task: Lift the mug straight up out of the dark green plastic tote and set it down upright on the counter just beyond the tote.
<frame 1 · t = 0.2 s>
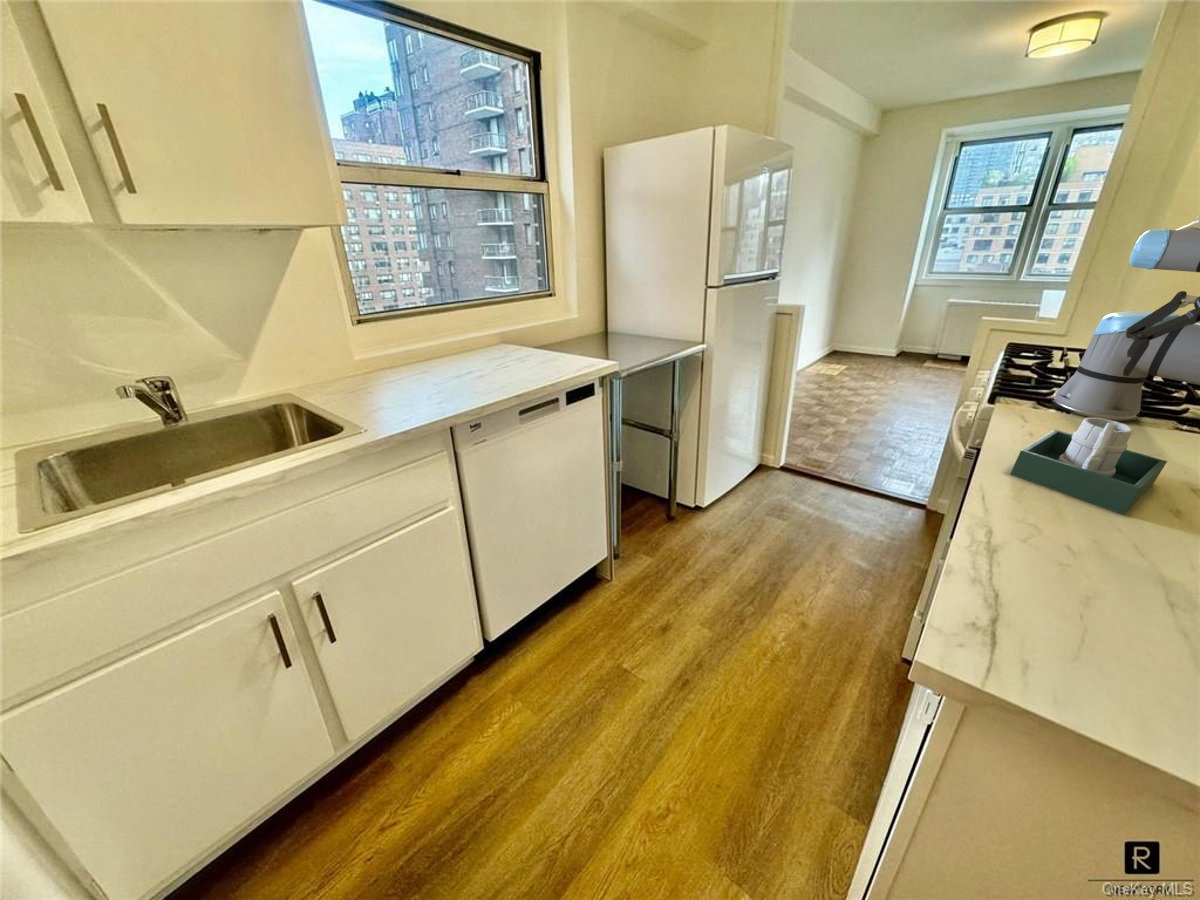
hand: (1177, 383, 86), 16 cm above the worktop, tool tilted 35°, fingers open, 13 cm apart
tote: (1079, 479, 87), on the worktop
mug: (1080, 478, 87), resting on tote
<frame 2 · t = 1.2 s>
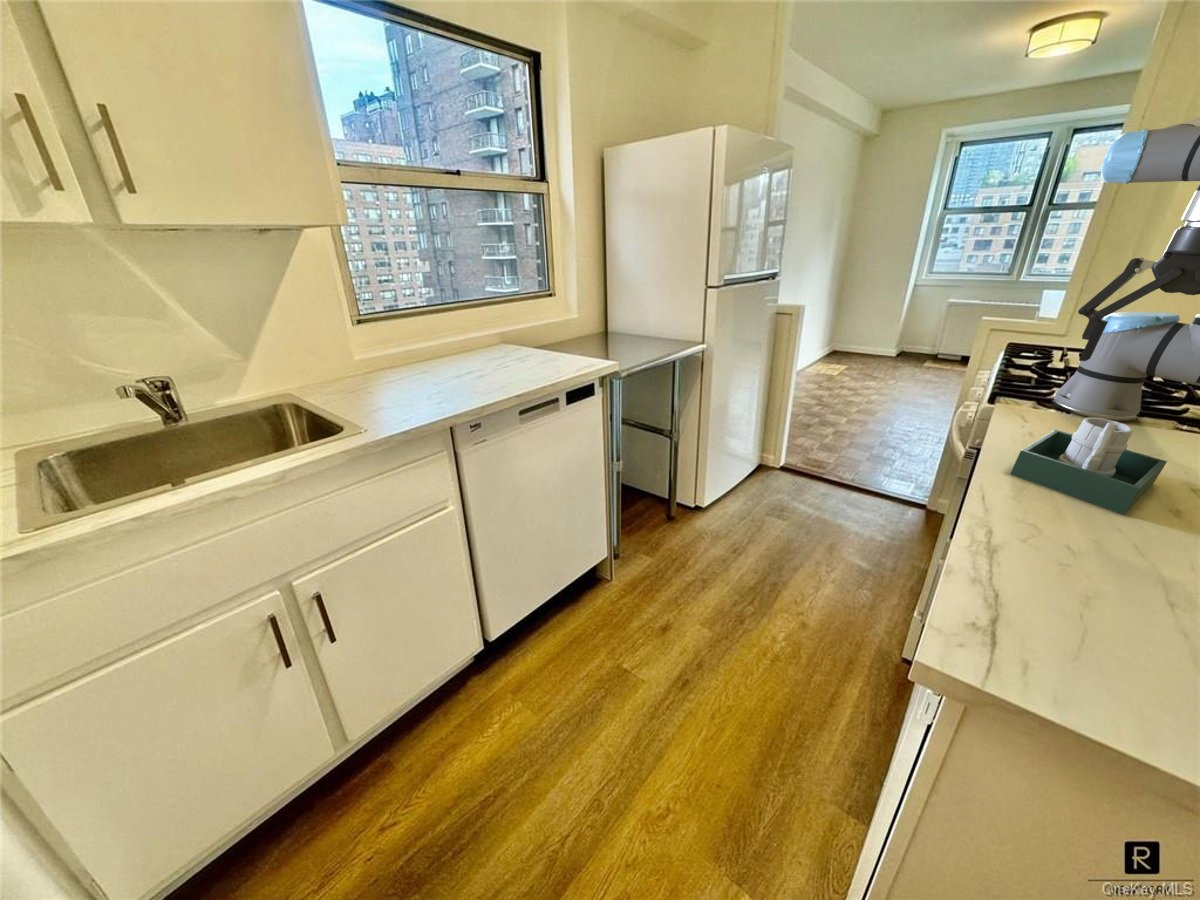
hand: (1138, 370, 78), 21 cm above the worktop, tool pointing down, fingers open, 13 cm apart
nothing on the worktop moved.
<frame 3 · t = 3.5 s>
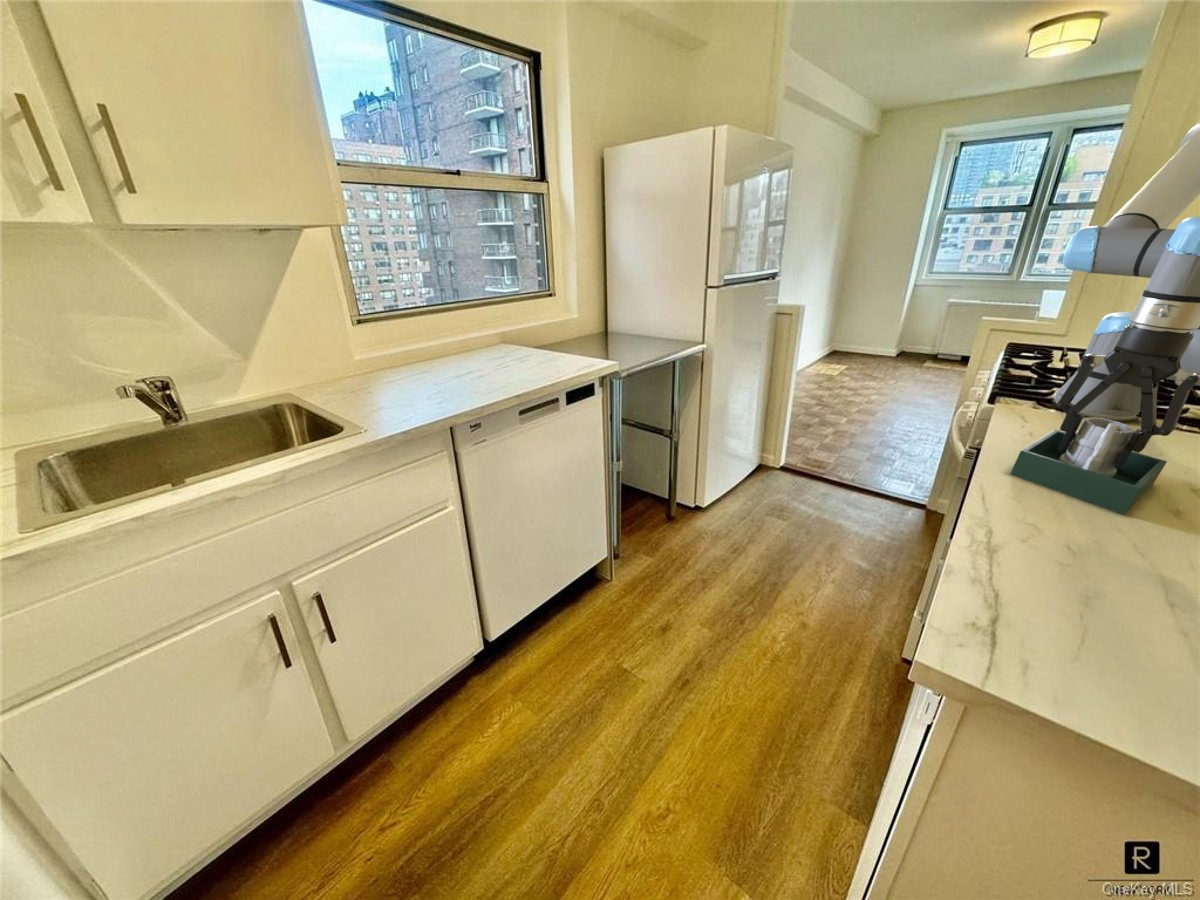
hand: (1089, 456, 85), 5 cm above the worktop, tool pointing down, fingers closed on mug, 7 cm apart
mug: (1081, 478, 87), resting on tote, touching gripper
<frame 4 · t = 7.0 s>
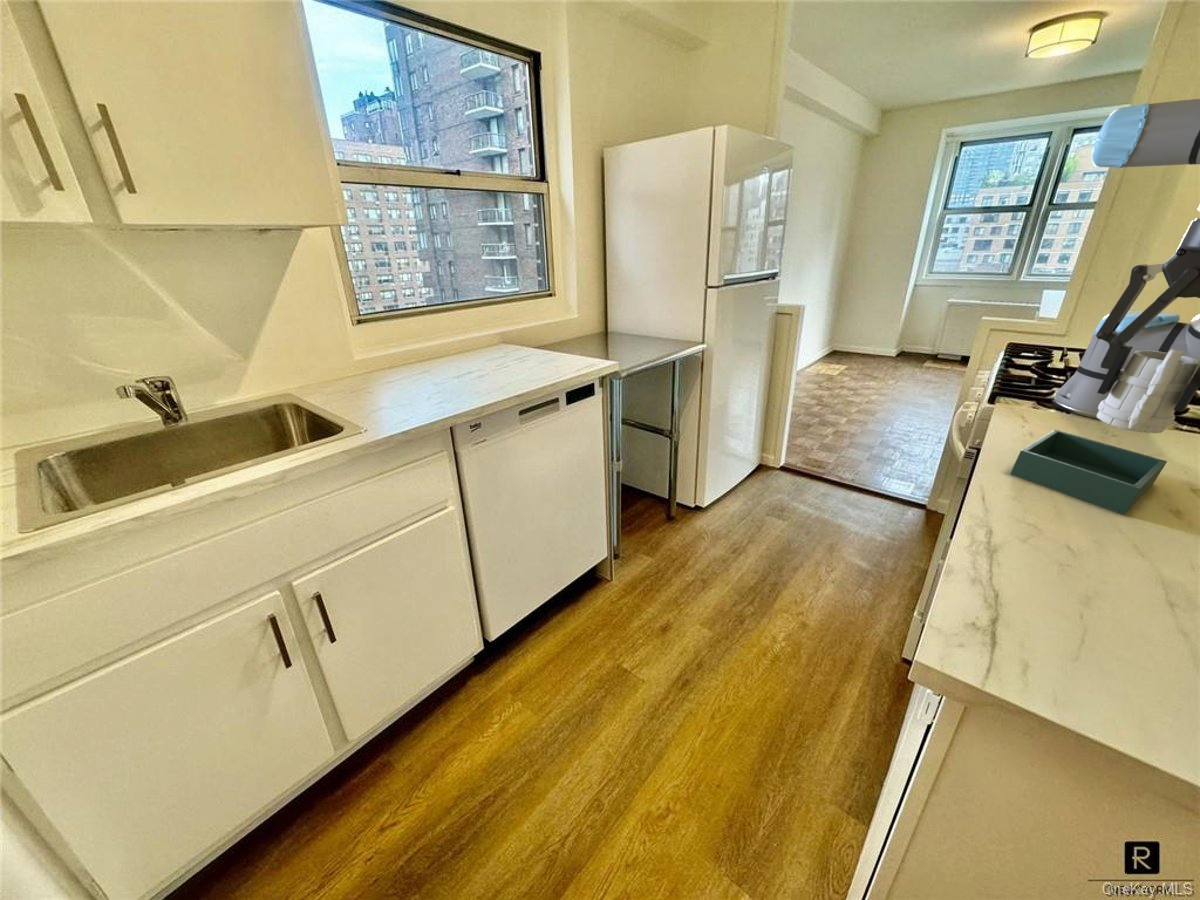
hand: (1140, 399, 67), 20 cm above the worktop, tool pointing down, fingers closed on mug, 7 cm apart
mug: (1128, 428, 68), point 16 cm above the worktop, touching gripper
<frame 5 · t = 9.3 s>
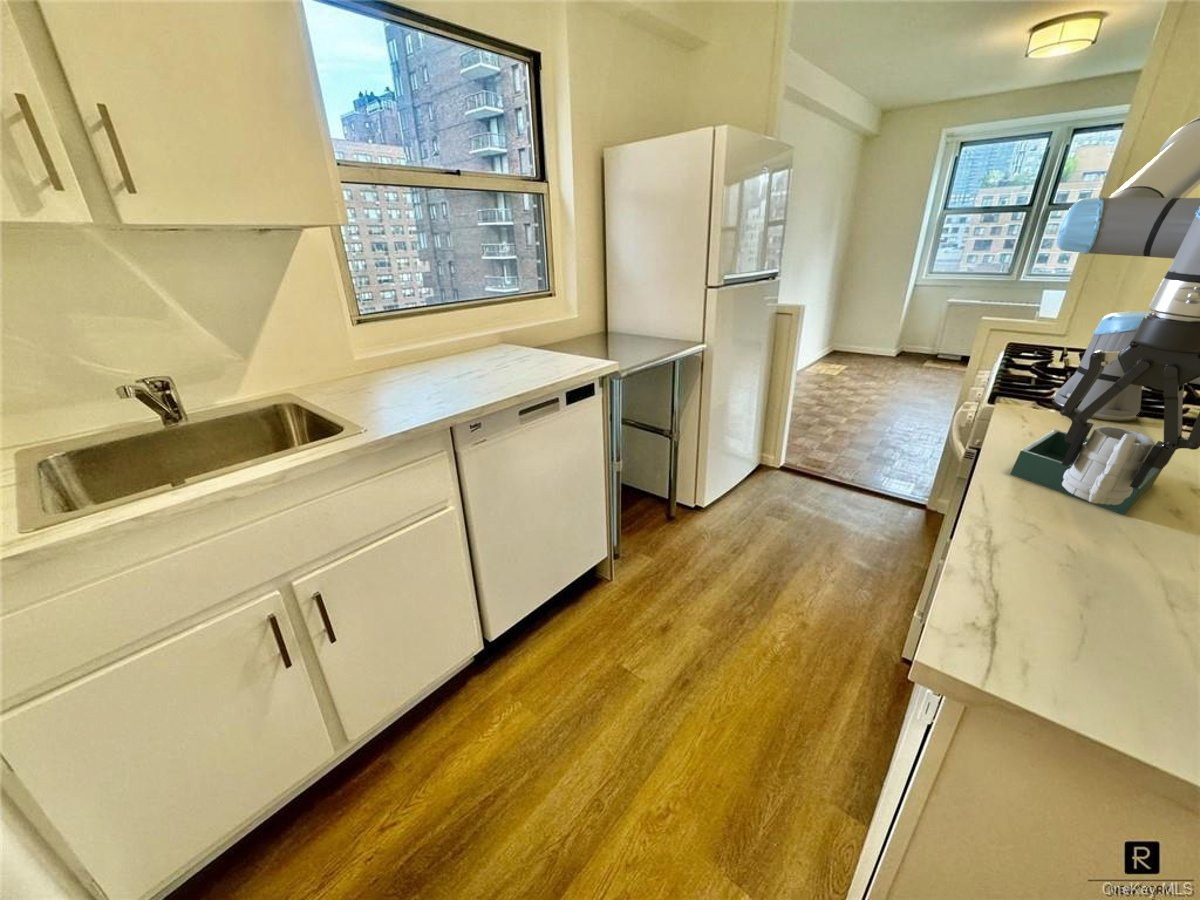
hand: (1100, 473, 71), 9 cm above the worktop, tool pointing down, fingers closed on mug, 7 cm apart
mug: (1090, 498, 73), point 5 cm above the worktop, touching gripper
when the fingers open (4 cm above the worktop, at t = 10.9 s): mug stays where it is, on the worktop.
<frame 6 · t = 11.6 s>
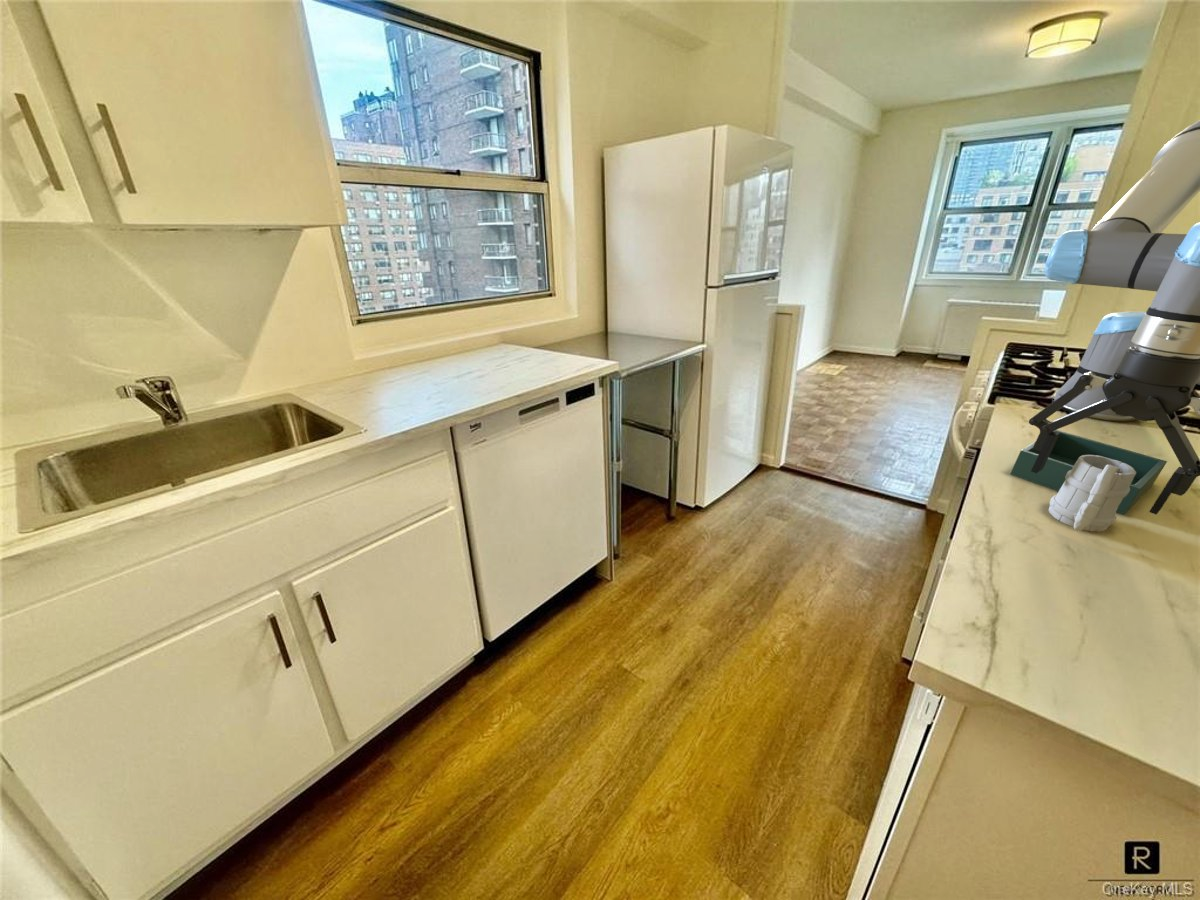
hand: (1091, 489, 73), 6 cm above the worktop, tool pointing down, fingers open, 13 cm apart
mug: (1075, 524, 75), on the worktop
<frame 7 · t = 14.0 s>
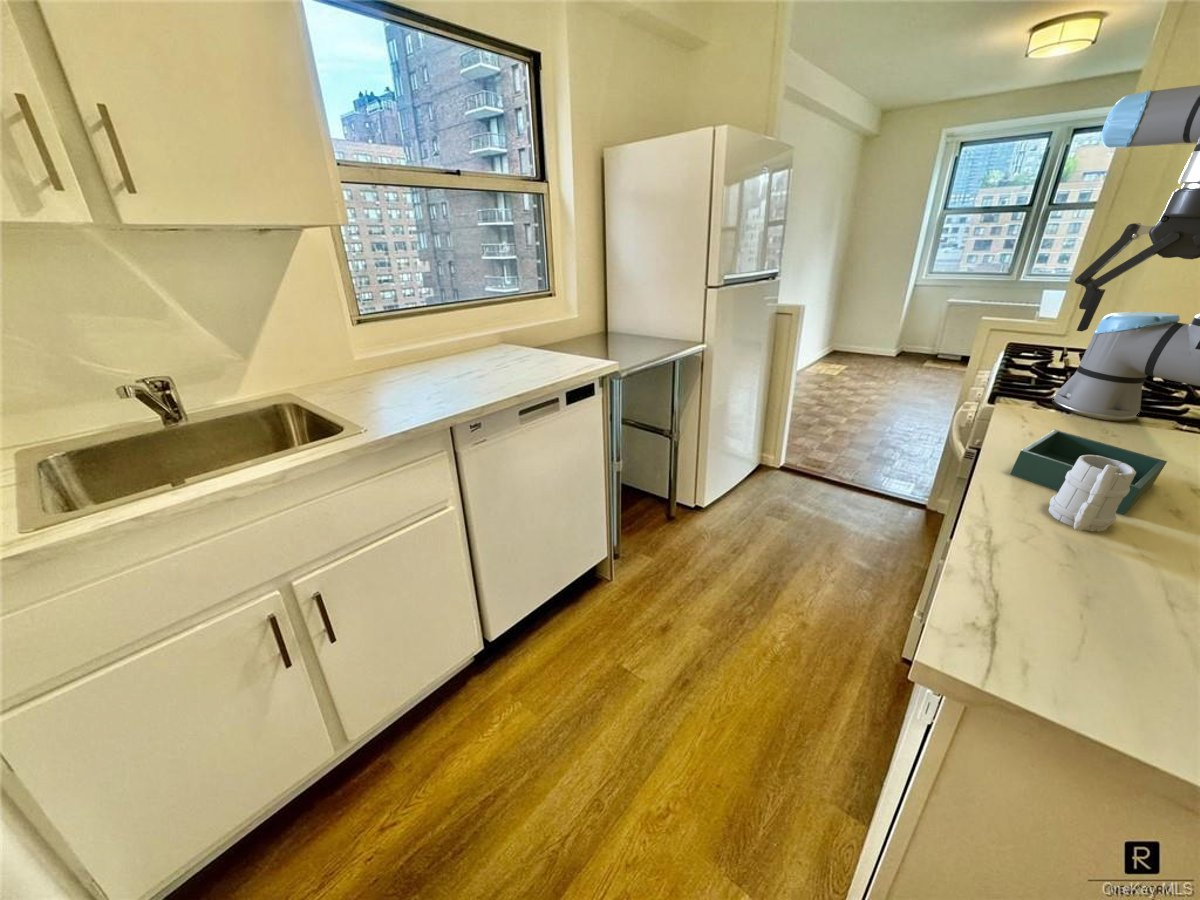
hand: (1137, 338, 77), 26 cm above the worktop, tool pointing down, fingers open, 13 cm apart
nothing on the worktop moved.
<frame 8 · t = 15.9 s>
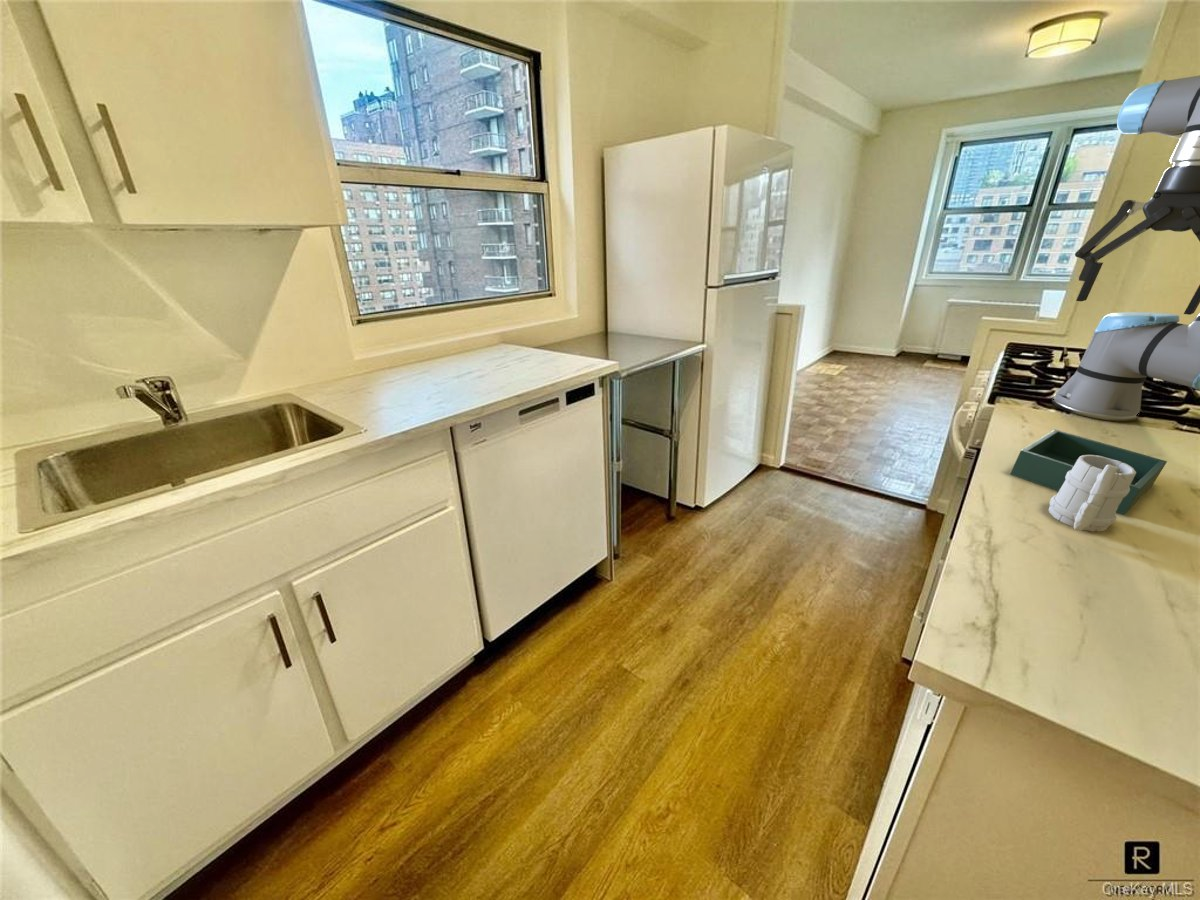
hand: (1131, 306, 84), 29 cm above the worktop, tool pointing down, fingers open, 13 cm apart
nothing on the worktop moved.
at the end: mug inside the target area (0.4 cm from its centre), on the worktop; mug tilted 0°; the gripper is holding nothing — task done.
